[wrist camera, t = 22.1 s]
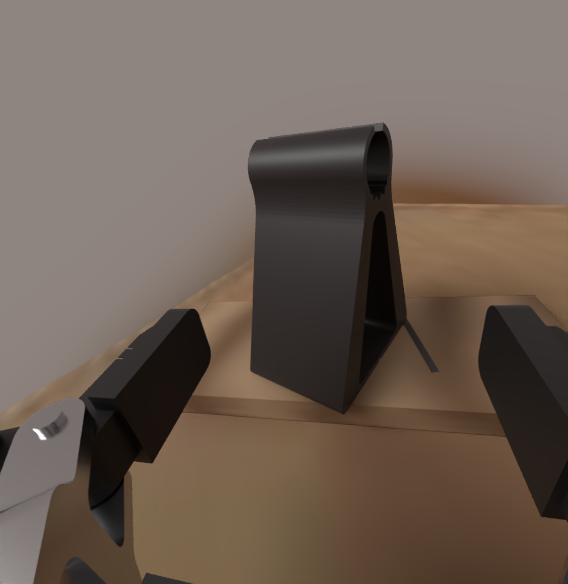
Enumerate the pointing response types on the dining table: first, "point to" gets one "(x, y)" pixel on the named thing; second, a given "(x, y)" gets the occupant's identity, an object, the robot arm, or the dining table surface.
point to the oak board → (383, 380)
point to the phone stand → (324, 261)
